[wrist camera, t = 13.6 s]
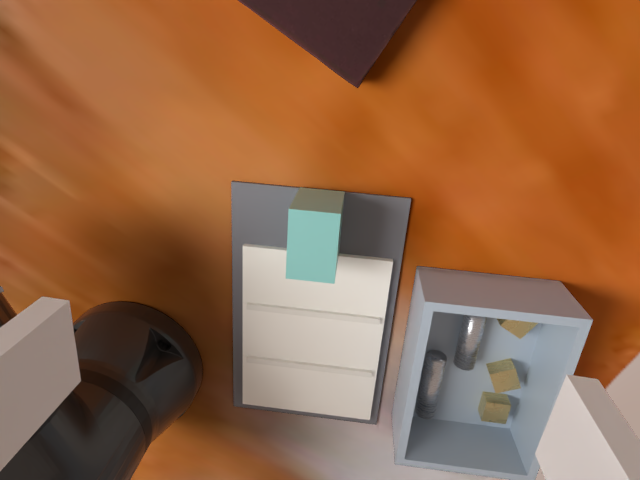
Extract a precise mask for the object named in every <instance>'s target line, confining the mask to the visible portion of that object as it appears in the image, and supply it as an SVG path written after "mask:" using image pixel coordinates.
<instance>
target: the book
mask: <svg viewBox="0 0 640 480" xmlns="http://www.w3.org/2000/svg"><path fill="white" fill-rule="evenodd" d="M238 1H240V2H241V3H242V4H244V5H245V6H247V7H248V8H249V9H251V10H252V11H253V12H255V13H256V14H258V15H259V16H260V17H262V18H263V19H264V20H266V21H267V22H268V23H270V24H271V25H272V26H274V27H275V28H276V29H278V30H279V31H280V32H282V33H283V34H284V35H286V36H287V37H288V38H290V39H291V40H292V41H294V42H295V43H296V44H298V45H299V46H301V47H302V48H303V49H305V50H306V51H307V52H309V53H310V54H312V55H313V56H314V57H316V58H317V59H318V60H320V61H321V62H322V63H324V64H325V65H326V66H327V67H329V68H330V69H331V70H333V71H334V72H335V73H336V74H338V75H339V76H341V77H342V78H343V79H345V80H346V81H348V82H349V83H350V84H352V85H354V86H355V87H357V88H358V87H359V86H360V84H361V83H362V80H363V79H364V77H365V76H366V75H367V73H368V72H369V70H370V69H371V67H372V66H373V64H374V63H375V61H376V60H377V58H378V57H379V55H380V54H381V52H382V51H383V49H384V48H385V46H386V45H387V44H388V42H389V41H390V39H391V38H392V36H393V35H394V33H395V32H396V31H397V29H398V28H399V26H400V25H401V23H402V22H403V20H404V19H405V17H406V16H407V14H408V13H409V11H410V10H411V8H412V7H413V5H414V4H415V3H416V1H417V0H238Z"/></svg>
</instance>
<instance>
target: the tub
mask: <svg viewBox="0 0 640 480" xmlns="http://www.w3.org/2000/svg"><path fill="white" fill-rule="evenodd" d="M464 315H472V316H481V317H487V320H486V324H485V328H484V332H483V336H482V340H481V344H480V348H479V352H478V356H477V359H476V363H475V367H474V369H473V370H470V371H465V370H461V369H459V368H458V367H456V366H455V365H454V363H453V360H454V356H455V351H456V347H457V342H458V338H459V334H460V329H461V325H462V320H463V316H464ZM497 318H499V319H508V320H517V321H526V322H535V323H538V324H537V325H536V326H535V327H533V328H532V329H531V330H530V331H529V332H528V333H527V334H526V335H525V336H524V337H523V338H521V339H519V338H518V337H516V336H515V335H513V334H512V333H510V332H509V331H507V330H506V329H504V328H503V327H501V326H500V324H499V322H498V320H497ZM592 322H593V319H592V318H591V317H590V316H589V314H588V313H587V312H586V311H585V310H584V309H583V307H582V306H581V305H580V304H579V303H578V301H577V300H576V299H575V298H574V297H573V296H572V294H571V293H570V292H569V291H568V290H567V288H566V287H565V286H564V285H563V284H562V283H561V281H555V280H545V279H536V278H526V277H517V276H507V275H498V274H488V273H479V272H469V271H460V270H450V269H441V268H431V267H422V266H417V268H416V274H415V280H414V286H413V291H412V297H411V303H410V309H409V315H408V321H407V327H406V332H405V338H404V344H403V350H402V356H401V362H400V368H399V373H398V379H397V385H396V391H395V397H394V403H393V408H392V428H393V444H394V460H395V464H396V465H404V466H411V467H419V468H426V469H434V470H441V471H448V472H456V473H463V474H471V475H478V476H485V477H493V478H500V479H508V480H535V479H536V476H537V474H538V471H539V468H540V465H539V463H538V460H537V458H536V455H535V452H536V450H537V447H538V445H539V442H540V440H541V437H542V435H543V432H544V430H545V427H546V425H547V422H548V420H549V417H550V415H551V412H552V410H553V407H554V405H555V402H556V400H557V397H558V395H559V392H560V390H561V387H562V385H563V382H564V379H565V377H566V374H567V375H573V374H574V372H575V369H576V366H577V363H578V361H579V358H580V355H581V352H582V350H583V347H584V344H585V341H586V339H587V336H588V333H589V330H590V328H591V325H592ZM429 350H438V351H441V352H443V353H444V354H445V355H446V356H447V362H446V366H445V371H444V375H443V380H442V384H441V389H440V394H439V398H438V403H437V407H436V412H435V416H434V417H433V418H432V419H423V418H421V417H419V416H418V415H417V414H416V412H415V407H416V402H417V397H418V392H419V387H420V382H421V377H422V372H423V367H424V362H425V357H426V353H427V351H429ZM509 358H511V360H512V362H513V364H514V366H515V368H516V372H517V375H518V379H519V382H520V386H521V388H520V389H515V390H510V391H506V392H501V393H502V394H507V396H508V398H509V401H510V403H511V409H510V412H509V415H508V418H507V422H506V424H501V423H493V422H485V421H481V418H480V415H479V412H478V407H479V403H480V399H481V395H482V392H483V391H485V392H493V393H495V391H494V388H493V385H492V383H491V379H490V376H489V373H488V369H487V366H486V364H487V363H491V362H496V361H500V360H504V359H509Z"/></svg>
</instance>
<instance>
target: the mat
mask: <svg viewBox="0 0 640 480" xmlns="http://www.w3.org/2000/svg"><path fill="white" fill-rule="evenodd" d="M231 186H232V290H233V394H234V406H236V407H244V408H251V409H259V410H267V411H275V412H282V413H290V414H298V415H306V416H313V417H321V418H329V419H337V420H344V421H352V422H360V423H368V424H375V425H376V423H377V416H378V410H379V404H380V397H381V391H382V384H383V378H384V371H385V365H386V358H387V352H388V346H389V339H390V333H391V326H392V320H393V313H394V307H395V300H396V294H397V288H398V281H399V275H400V268H401V262H402V255H403V249H404V243H405V236H406V230H407V223H408V217H409V210H410V204H411V198H407V197H396V196H386V195H375V194H365V193H354V192H345V195H344V205H343V216H342V227H341V237H340V248H339V253H340V254H350V255H359V256H369V257H378V258H388V259H393V266H392V273H391V280H390V287H389V293H388V300H387V307H386V314H385V321H384V327H383V334H382V341H381V348H380V355H379V361H378V368H377V375H376V382H375V389H374V395H373V402H372V409H371V416H370V420H364V419H357V418H349V417H341V416H333V415H326V414H318V413H310V412H302V411H294V410H287V409H279V408H271V407H263V406H256V405H248V404H243V245H244V244H254V245H263V246H273V247H282V248H287V234H288V210H289V207H290V205H291V203H292V201H293V199H294V197H295V195H296V194H297V192H298V190H299V188H300V187H291V186H281V185H270V184H260V183H249V182H239V181H232V182H231Z"/></svg>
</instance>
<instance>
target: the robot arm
mask: <svg viewBox="0 0 640 480" xmlns="http://www.w3.org/2000/svg"><path fill="white" fill-rule="evenodd" d="M1 292H4V290H3V288H2V287H1V286H0V480H131V478H132V476H133V474H134V472H135V470H136V468H137V467H138V465H139V463H140V461H141V459H142V457H143V455H144V454H145V452H146V450H147V448H148V447H149V445H150V443H151V442H152V441H153V440H155V439H156V438H157V437H158V436H159V435H160V434H161V433H162V432H163V431H165V430H166V429H167V428H168V427H169V426H170V425H171V424H172V423H173V422H174V421H175V420H176V419H178V418H179V417H181V416H182V415H183V414H184V413H185V412H186V410H187V409H188V408H189V406H190V405H191V403H192V401H193V399H194V398H195V396H196V394H197V392H198V390H199V387H200V385H201V381H202V375H203V369H202V361H201V358H200V355H199V352H198V350H197V347H196V346H195V344H194V342H193V341H192V339H191V338H190V336H189V335H188V334H187V333H186V331H185V330H184V329H183V328H182V327H181V326H180V325H178V324H177V323H176V322H175V321H174V320H172V319H171V318H169V317H168V316H166V315H165V314H163V313H161V312H159V311H157V310H155V309H153V308H150V307H148V306H145V305H141V304H137V303H131V302H109V303H104V304H101V305H98V306H95V307H93V308H91V309H90V310H88V311H87V312H85V313H84V314H83V315H82V316H81V317H79V318H78V319H77V320H76V321H75V322H74V323H72V316H71V309H70V302H69V300H62V299H56V298H49V297H41V298H40V299H38V300H37V301H36V302H34V303H33V304H32V305H30V306H29V307H27V308H26V309H25V310H23V311H22V312H21V313H19V314H18V315H17V314H16V313H15V311H14V310H13V308H12V307H11V306H10V304H9V303H8V301H7V300H6V298H5V297H4V296H3V294H2V293H1ZM535 455H536V458H537V460H538V463H539V465H540V468H541V470H542V472H543V475H544V478H545V480H640V440H639V438H638V437H637V435H636V434H635V433H634V431H633V430H632V428H631V427H630V425H629V424H628V422H627V421H626V419H625V418H624V417H623V415H622V414H621V412H620V411H619V409H618V408H617V406H616V405H615V403H614V402H613V400H612V399H611V398H610V396H609V395H608V393H607V392H606V390H605V389H604V387H603V386H602V384H601V383H600V381H599V380H598V379H594V378H587V377H581V376H574V375H567V374H566V377H565V379H564V382H563V385H562V387H561V390H560V392H559V395H558V397H557V400H556V402H555V405H554V407H553V410H552V412H551V415H550V417H549V420H548V422H547V425H546V427H545V430H544V432H543V435H542V437H541V440H540V442H539V445H538V447H537V450H536V452H535Z"/></svg>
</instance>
